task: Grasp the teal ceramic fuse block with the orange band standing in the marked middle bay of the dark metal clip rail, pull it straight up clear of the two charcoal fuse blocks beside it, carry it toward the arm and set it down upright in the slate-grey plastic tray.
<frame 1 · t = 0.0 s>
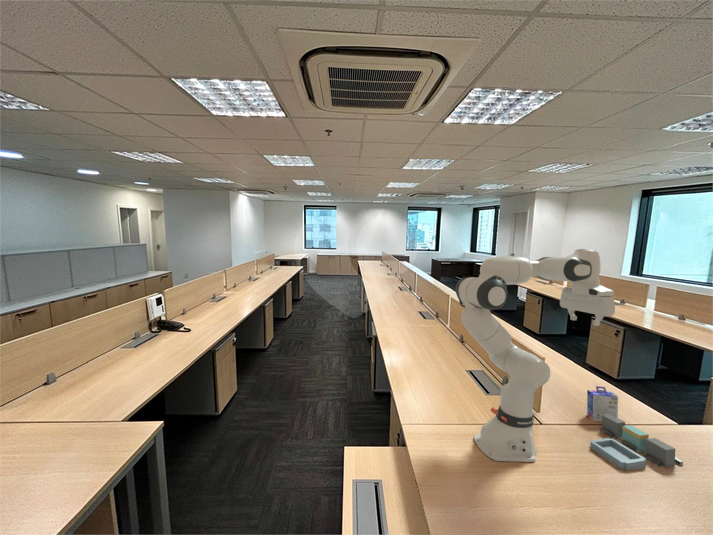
hand: (584, 322, 113), 48 cm above the table, fingers open, 8 cm apart
clip rail: (634, 445, 110), on the table
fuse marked: (634, 446, 110), resting in clip rail
ink cartridge box: (601, 419, 128), on the table
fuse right: (659, 460, 102), resting in clip rail
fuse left: (612, 433, 117), resting in clip rail
tray: (616, 456, 104), on the table
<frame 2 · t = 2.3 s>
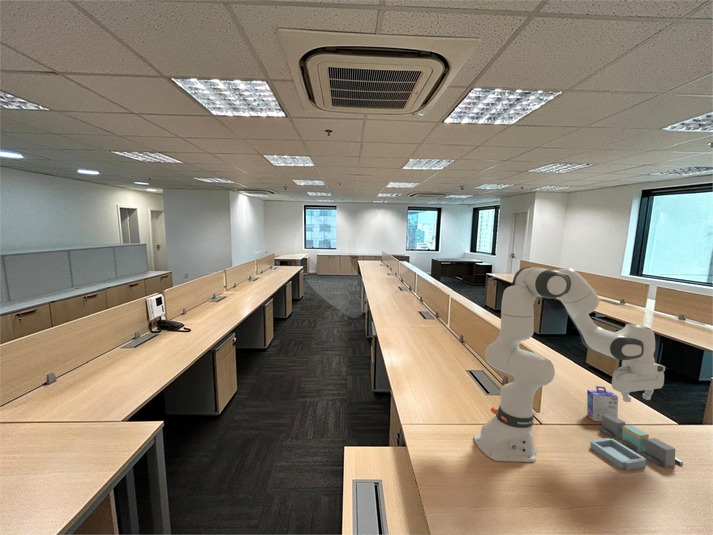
hand: (636, 400, 109), 18 cm above the table, fingers open, 8 cm apart
nothing on the table moved.
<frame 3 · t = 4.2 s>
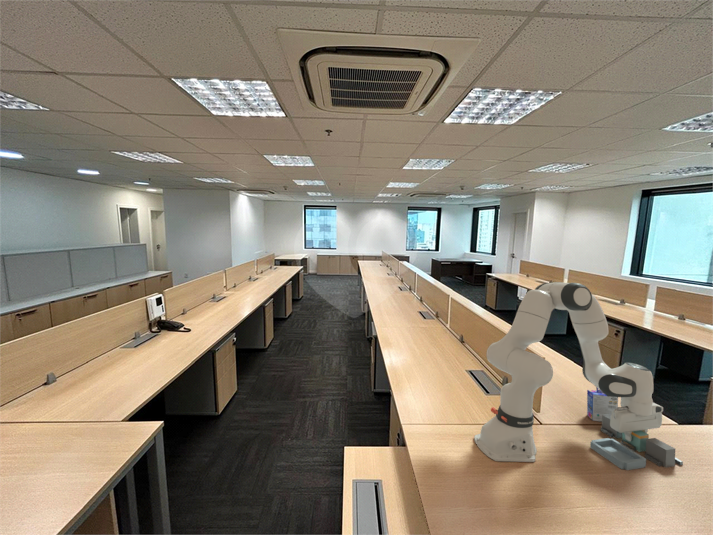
hand: (634, 439, 110), 3 cm above the table, fingers closed on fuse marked, 4 cm apart
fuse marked: (634, 446, 110), resting in clip rail, touching gripper
everything else where it was.
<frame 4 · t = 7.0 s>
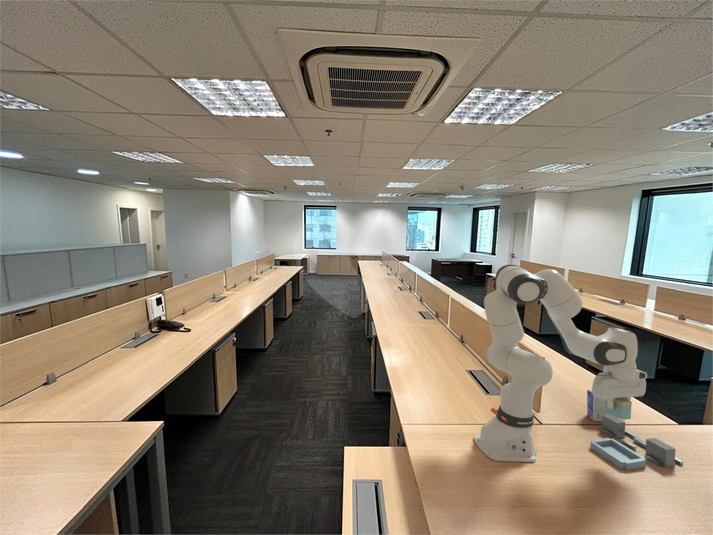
hand: (617, 407, 104), 18 cm above the table, fingers closed on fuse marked, 4 cm apart
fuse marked: (617, 414, 104), point 16 cm above the table, touching gripper
everything else where it was.
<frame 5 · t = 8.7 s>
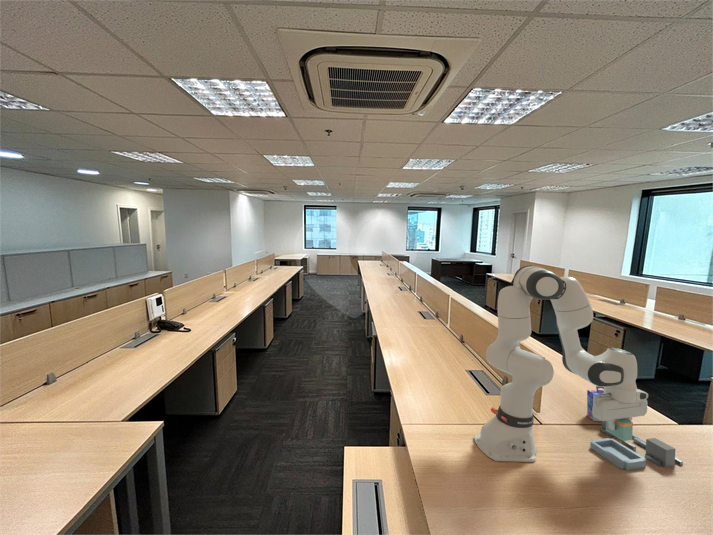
hand: (618, 428, 104), 11 cm above the table, fingers closed on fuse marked, 4 cm apart
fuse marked: (618, 435, 104), point 8 cm above the table, touching gripper
everything else where it was.
when the fingers open (5 cm above the table, at t = 10.1 s): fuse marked drops 2 cm, resting on tray.
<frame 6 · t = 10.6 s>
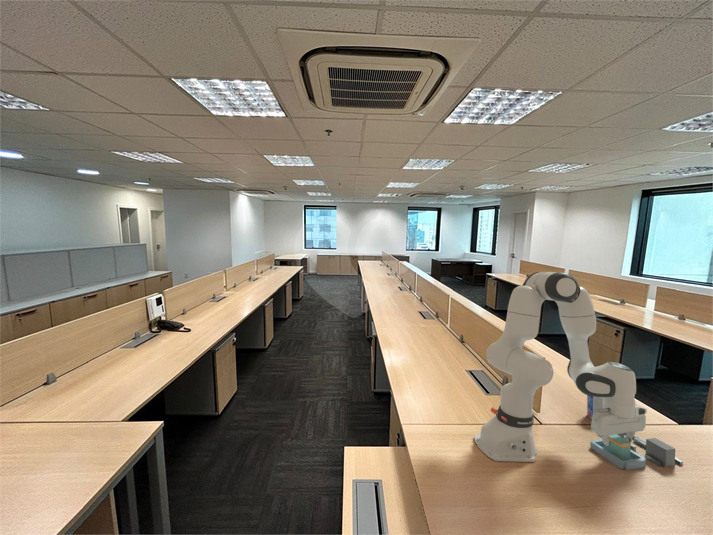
hand: (617, 443, 104), 5 cm above the table, fingers open, 8 cm apart
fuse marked: (616, 454, 104), point 1 cm above the table, touching tray
everything else where it was.
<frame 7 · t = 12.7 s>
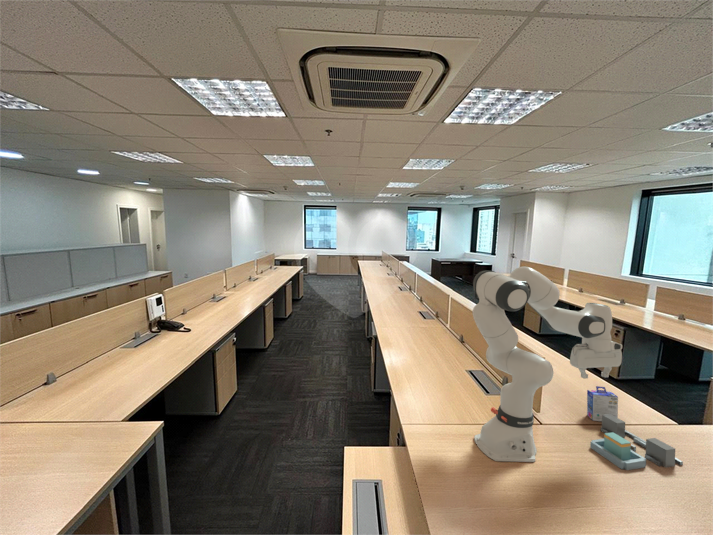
hand: (594, 377, 111), 26 cm above the table, fingers open, 8 cm apart
nothing on the table moved.
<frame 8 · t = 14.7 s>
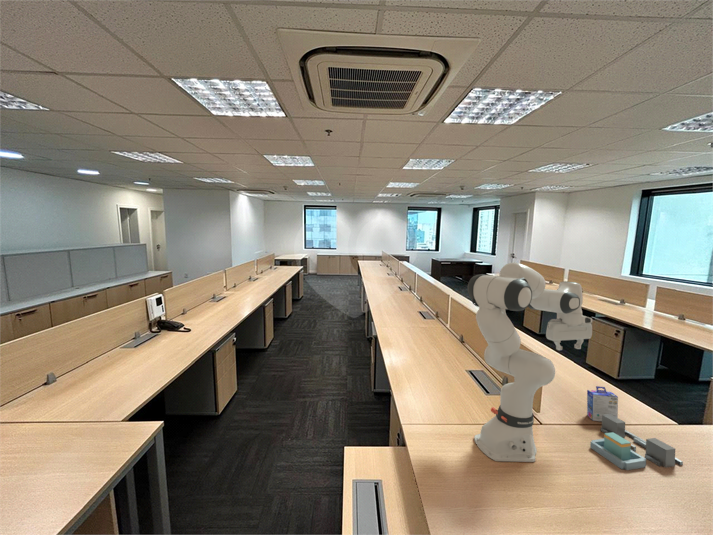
hand: (568, 349, 122), 34 cm above the table, fingers open, 8 cm apart
nothing on the table moved.
at the end: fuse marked inside the target area on the tray (0.1 cm from its centre), point 0.6 cm above the tray's base; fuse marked tilted 0°; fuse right moved 0.1 cm from its start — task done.
